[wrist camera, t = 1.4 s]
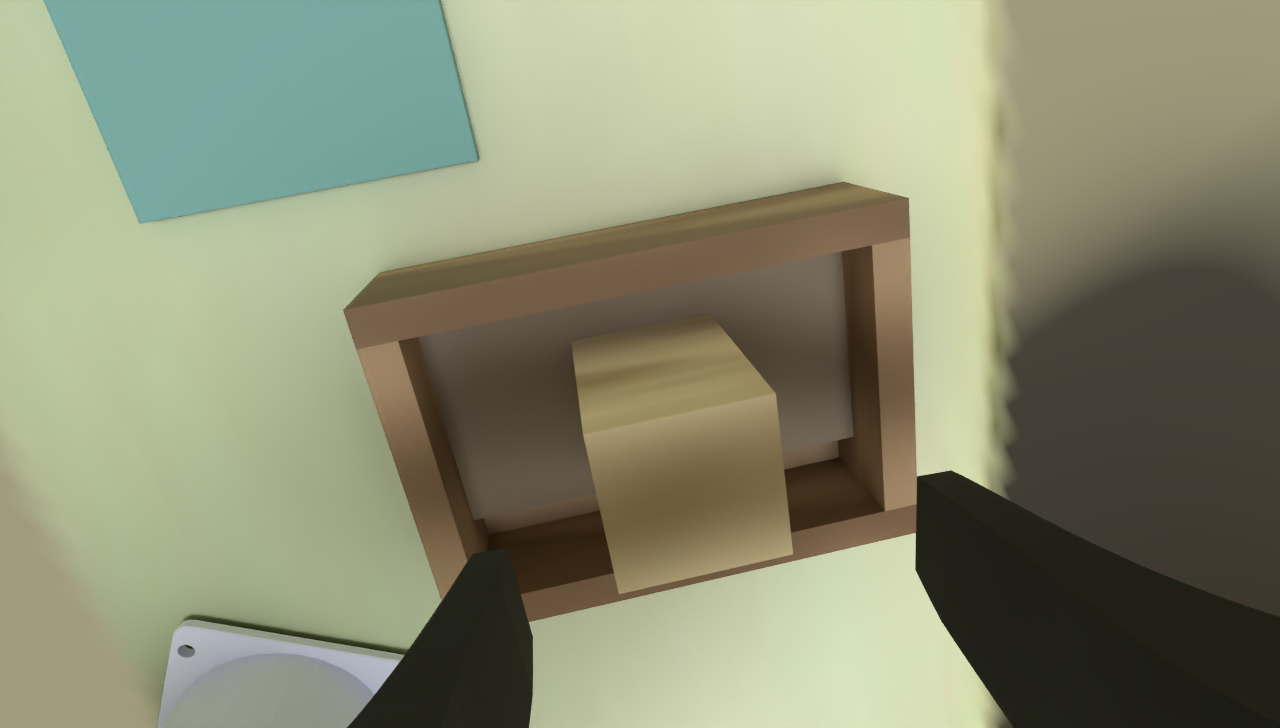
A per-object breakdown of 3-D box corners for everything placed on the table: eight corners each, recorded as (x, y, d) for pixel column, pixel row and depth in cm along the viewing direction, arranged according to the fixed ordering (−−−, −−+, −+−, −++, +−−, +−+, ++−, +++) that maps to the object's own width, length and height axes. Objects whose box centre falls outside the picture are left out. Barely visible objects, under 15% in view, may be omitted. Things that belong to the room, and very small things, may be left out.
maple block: (727, 436, 21) (793, 554, 16) (598, 465, 21) (618, 594, 15) (709, 312, 20) (775, 393, 14) (571, 341, 20) (583, 434, 14)
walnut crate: (861, 468, 25) (918, 532, 21) (468, 555, 24) (455, 638, 20) (843, 182, 21) (908, 198, 17) (379, 272, 20) (342, 310, 16)
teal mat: (479, 159, 19) (477, 160, 19) (149, 220, 19) (139, 223, 18) (381, -237, 16) (377, -248, 16) (-20, -178, 16) (-37, -186, 15)
